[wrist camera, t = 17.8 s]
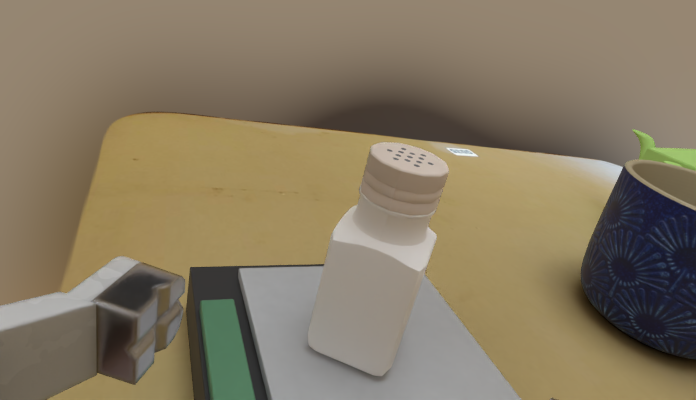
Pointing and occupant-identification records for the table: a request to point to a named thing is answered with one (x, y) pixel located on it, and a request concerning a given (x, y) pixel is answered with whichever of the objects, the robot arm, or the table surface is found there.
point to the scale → (309, 365)
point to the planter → (647, 257)
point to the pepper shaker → (378, 259)
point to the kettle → (665, 153)
